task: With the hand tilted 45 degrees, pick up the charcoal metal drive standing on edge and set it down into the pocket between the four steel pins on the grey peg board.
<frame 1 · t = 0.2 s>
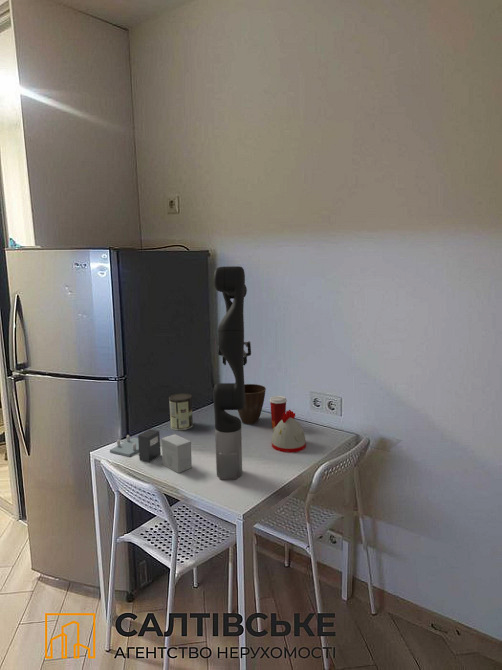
hand: (234, 364, 206), 29 cm above the table, tool pointing down, fingers open, 8 cm apart
grey peg board: (131, 447, 191), on the table
plant pot: (250, 421, 218), on the table
skincare box: (177, 466, 174), on the table
cream and red dome: (288, 445, 191), on the table
paper cup: (278, 428, 209), on the table
coffee can: (181, 426, 213), on the table
drive: (150, 457, 181), on the table
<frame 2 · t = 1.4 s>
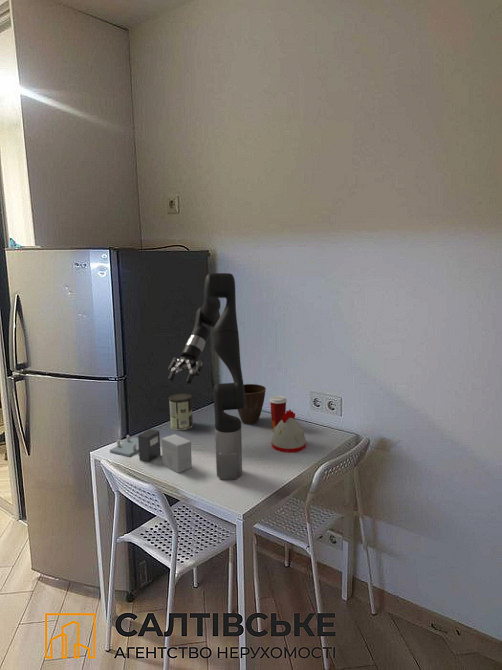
hand: (178, 382, 188), 27 cm above the table, tool tilted 45°, fingers open, 8 cm apart
nothing on the table moved.
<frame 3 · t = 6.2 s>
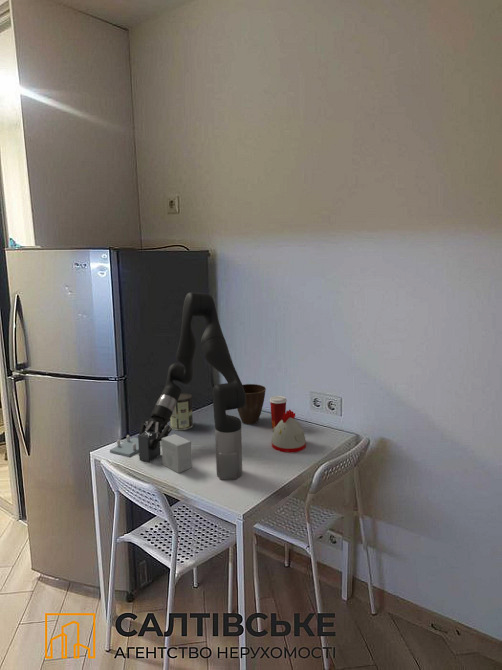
hand: (146, 448, 179), 5 cm above the table, tool tilted 45°, fingers closed on drive, 4 cm apart
drive: (150, 457, 181), on the table, touching gripper
everything else where it was.
when the fingers open (7 cm above the table, at t = 11.3 s): drive drops 1 cm, resting on grey peg board.
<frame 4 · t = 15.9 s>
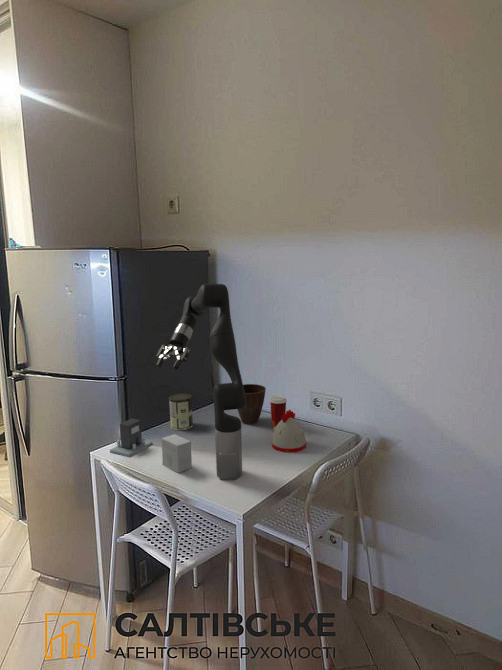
hand: (166, 368, 195), 31 cm above the table, tool tilted 45°, fingers open, 8 cm apart
drive: (131, 445, 191), point 1 cm above the table, touching grey peg board
everything else where it was.
at the end: drive inside the target area on the grey peg board (0.2 cm from its centre), point 1.0 cm above the grey peg board's base; drive tilted 0°; the gripper is holding nothing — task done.
